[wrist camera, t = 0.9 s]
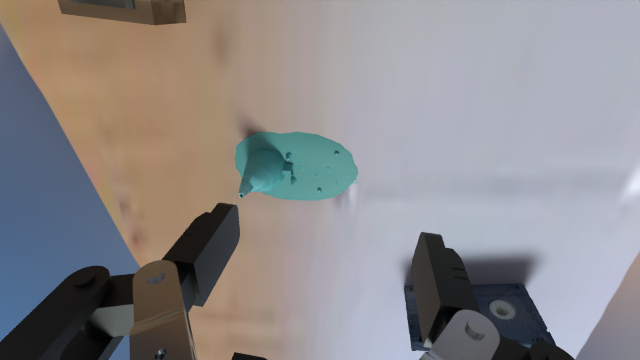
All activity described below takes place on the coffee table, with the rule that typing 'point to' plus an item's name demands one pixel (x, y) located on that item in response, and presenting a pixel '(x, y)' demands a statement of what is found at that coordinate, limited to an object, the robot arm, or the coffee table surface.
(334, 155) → the diorama
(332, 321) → the coffee table surface
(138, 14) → the walnut block
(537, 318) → the vhs cassette tape
